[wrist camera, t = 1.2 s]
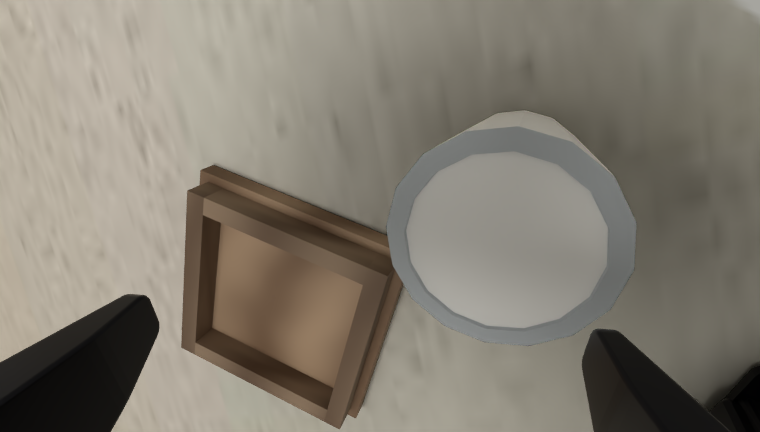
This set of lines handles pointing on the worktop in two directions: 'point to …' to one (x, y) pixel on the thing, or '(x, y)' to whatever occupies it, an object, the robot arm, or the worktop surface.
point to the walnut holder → (285, 294)
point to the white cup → (512, 232)
